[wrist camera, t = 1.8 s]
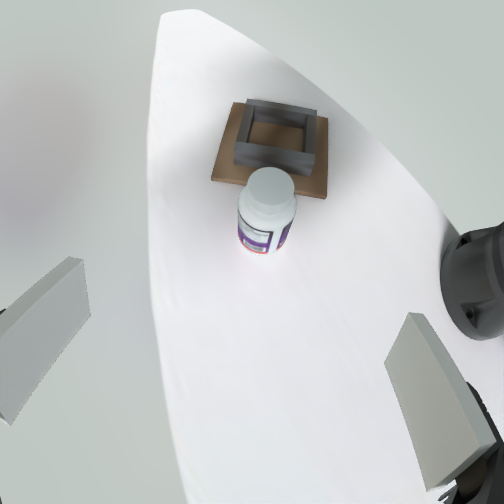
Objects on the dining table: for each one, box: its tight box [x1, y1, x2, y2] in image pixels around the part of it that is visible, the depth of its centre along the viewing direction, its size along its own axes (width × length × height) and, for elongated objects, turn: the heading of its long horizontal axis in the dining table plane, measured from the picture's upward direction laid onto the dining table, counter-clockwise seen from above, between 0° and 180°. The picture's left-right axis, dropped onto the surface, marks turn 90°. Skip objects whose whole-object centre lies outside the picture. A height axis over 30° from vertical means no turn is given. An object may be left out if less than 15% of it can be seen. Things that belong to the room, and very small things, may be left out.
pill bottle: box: [238, 167, 297, 255], centre depth 29 cm, size 5×5×10 cm
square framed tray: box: [211, 99, 328, 199], centre depth 37 cm, size 14×14×4 cm
